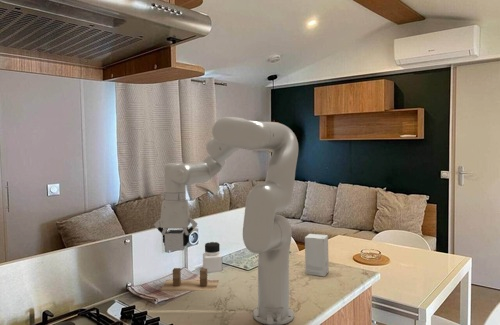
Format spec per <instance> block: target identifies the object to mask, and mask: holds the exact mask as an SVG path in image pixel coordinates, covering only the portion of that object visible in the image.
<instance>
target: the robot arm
mask: <svg viewBox="0 0 500 325" xmlns="http://www.w3.org/2000/svg"><path fill="white" fill-rule="evenodd" d="M211 134H212V137H211V138H210V139H209V140H208V141H207V143H206V145H205V146H206V152H207V154H208V155H207V157H205V158H204V159H203V160H201V161H198V162H190V163H189V162H188V163H183V162H169V163H166V164H165V165H164V170H163V172H164V176H163V177H164V192H163V193H160V197H161V198H163V199H164V200H162V202H161V209H160V218H158V220H156V222H154V223H153V226H154V227H155V228H156V229H157V230H158V232H160V233H161V235H162V243H163V246H164V247H165V233H166V232H167V231H168V230H184V232H185V235H184V246H186V245H187V246H188V244H189V242H190V239H189V238H190V233H191V232H192V231H193V230H195V228H196V227H197V226H198V223H197V222H196V221H195V220H194V219H193V218H192V216H191V215H190V213H191V212H190V206H189V201H188V199H187V198H186V197H187V196H186V195H187V194H186V193H187V192H186V191H187V190H186V186H190V185H195V184H201V183H206V182H208V181H210V180H211V179H212V178H214V177H215V176H216V175H218V174H219V172H221V171H222V170H223V167H224V165H225V163H226V160H228V159H229V158H230V157H231V156H232V155H233V154H235V153H236V152H237V151H238V150H239V149H243V150H246V151H247V150H248V151H255V152H256V151H257V152H259V151H260V152H261V151H271V152H272V153H271V156H270V158H269V160H268V163H267V167H266V176H265V180H264V182H263V183H262V182H261V183H258V184H256V185H254V186H253V187H252V188H251V189H250V191H249V192H248V194H247V197H246V200H245V206H244V216H243V224H242V226H243V227H242V241H243V244H244V246H245V247H246V249H247V250H248V251H249V252H250V253H251V254H252V253H253V254H255V255H257V254H258V258H257V259H258V261H257V296H258V297H257V298H258V299H257V306H256V308H254V309H253V312H252V314H253V315H252V316H253V318H254V320H256V321H257V322H258V323H261V324H264V325H285V324H288V323H290V322H291V321H293V320H294V319H295V318H294V317H295V312H294V310H293V309H292V308H290V300H289V299H290V293H289V292H290V290H289V289H290V286H289V285H290V249H291V242H292V237H293V235H292V233H293V231H292V230H293V229H292V226H291V223H290V221H289V220H288V219H287V218H286V217H285V216H283V215H281V214H280V213H281V212H284V211H286V210H288V209H289V208H290V207H291V204H292V202H293V201H292V200H293V196H294V195H293V192H294V185H295V178H296V170H297V164H298V163H297V162H298V159H299V158H298V156H299V142H298V139H297V136H296V134H295V132H293V130H292V129H291V128H290V127H289V126H287V125H285V124H283V123H280V122H275V121H261V120H260V121H257V120H249V119H246V118H243V117H237V116H223V117H221V118H219V119H217V120H216V121H215V123H214V124H213V126H212V131H211ZM278 213H279V214H278ZM190 224H191V226H190V227H189V225H190ZM187 246H186V247H187Z"/></svg>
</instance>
